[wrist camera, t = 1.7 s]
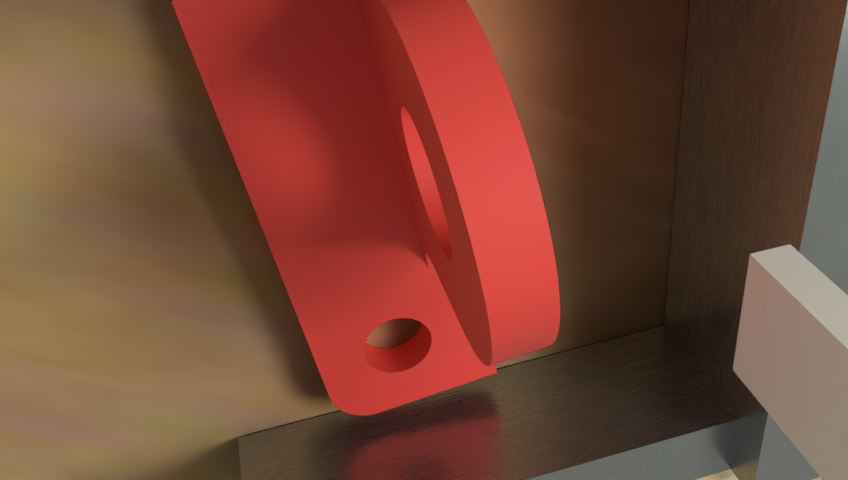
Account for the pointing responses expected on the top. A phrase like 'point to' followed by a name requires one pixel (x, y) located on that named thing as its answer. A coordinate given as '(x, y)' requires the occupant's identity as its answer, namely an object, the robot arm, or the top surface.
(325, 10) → the bracket
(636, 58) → the top surface
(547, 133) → the top surface
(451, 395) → the grey u-shaped frame
